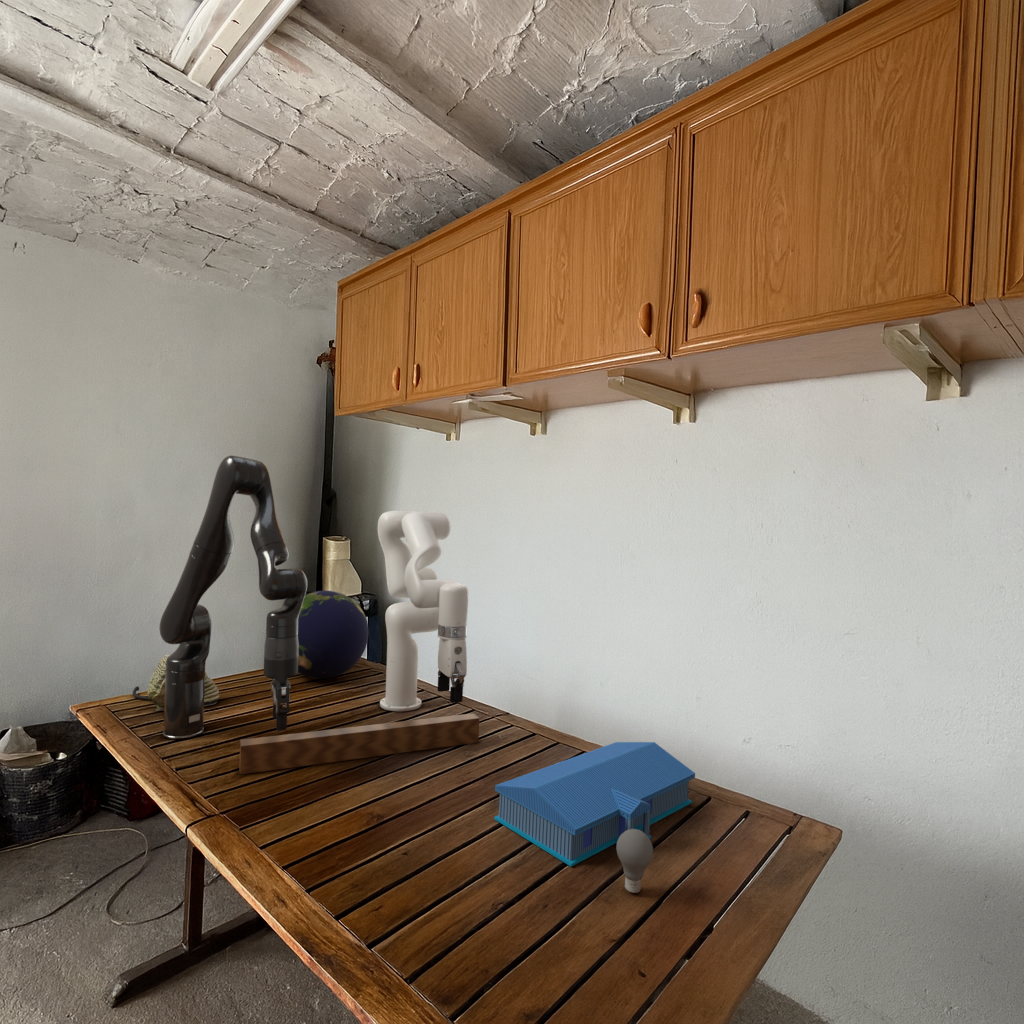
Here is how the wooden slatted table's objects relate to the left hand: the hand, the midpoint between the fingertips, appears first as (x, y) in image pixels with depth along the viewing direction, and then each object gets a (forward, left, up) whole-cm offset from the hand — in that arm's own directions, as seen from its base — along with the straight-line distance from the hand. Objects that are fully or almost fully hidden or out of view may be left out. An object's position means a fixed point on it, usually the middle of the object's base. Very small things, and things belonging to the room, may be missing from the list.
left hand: (279, 723), depth 148 cm
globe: (-60, +41, -10) cm, 73 cm away
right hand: (+13, +40, +2) cm, 42 cm away
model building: (+62, +42, -10) cm, 76 cm away
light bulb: (+82, +25, -10) cm, 86 cm away
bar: (+6, +20, -10) cm, 23 cm away
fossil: (-56, -5, -10) cm, 56 cm away
